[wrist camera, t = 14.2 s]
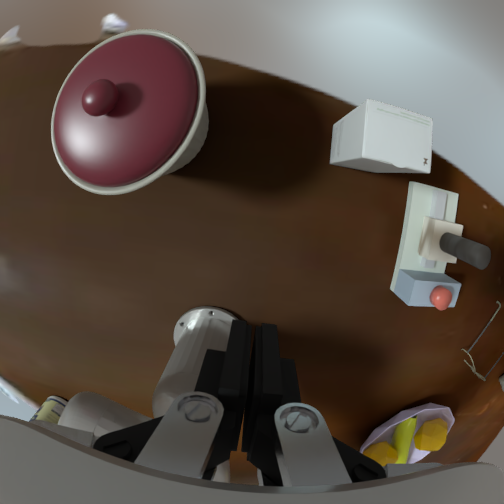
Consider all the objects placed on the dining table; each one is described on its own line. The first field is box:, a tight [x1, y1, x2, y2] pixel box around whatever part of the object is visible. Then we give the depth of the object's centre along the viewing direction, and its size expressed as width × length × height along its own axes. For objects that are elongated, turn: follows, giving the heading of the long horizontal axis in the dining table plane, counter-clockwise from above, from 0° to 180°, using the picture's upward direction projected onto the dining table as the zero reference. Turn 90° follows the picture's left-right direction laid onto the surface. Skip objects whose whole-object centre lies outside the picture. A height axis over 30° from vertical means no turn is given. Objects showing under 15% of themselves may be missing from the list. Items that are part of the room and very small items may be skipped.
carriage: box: [417, 216, 491, 269], centre depth 32 cm, size 6×6×14 cm
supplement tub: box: [30, 396, 68, 424], centre depth 47 cm, size 12×12×17 cm
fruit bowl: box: [360, 403, 455, 466], centre depth 47 cm, size 28×27×11 cm
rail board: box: [390, 181, 461, 307], centre depth 38 cm, size 18×10×7 cm, turn 174°
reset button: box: [430, 285, 452, 310], centre depth 35 cm, size 3×3×2 cm
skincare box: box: [330, 99, 433, 173], centre depth 31 cm, size 8×7×16 cm
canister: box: [51, 29, 209, 195], centre depth 28 cm, size 18×18×21 cm
